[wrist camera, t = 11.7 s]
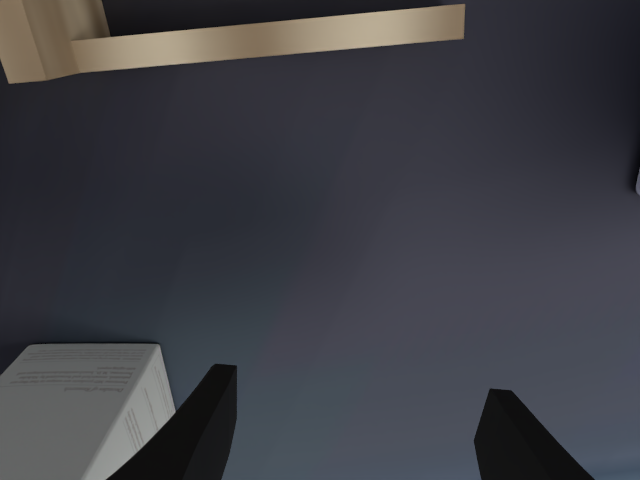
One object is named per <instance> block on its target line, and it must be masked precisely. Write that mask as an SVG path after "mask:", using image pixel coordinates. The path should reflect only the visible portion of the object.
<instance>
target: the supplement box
mask: <svg viewBox="0 0 640 480" xmlns="http://www.w3.org/2000/svg"><path fill="white" fill-rule="evenodd" d="M175 412H176V411H175V407H174V403H173V399H172V395H171V390H170V386H169V382H168V378H167V374H166V370H165V366H164V361H163V357H162V353H161V349H160V345H159V344H35V345H29V346H28V347H27V348H26V349H25V350H24V351H23V352H22V353H21V354H20V355H19V356H18V357H17V358H16V360H15V361H14V362H13V363H12V364H11V365H10V366H9V367H8V368H7V369H6V370H5V371H4V372H3V373H2V374H1V375H0V480H106V479H107V478H108V477H109V476H111V475H112V474H113V473H114V472H115V471H117V470H118V469H119V468H120V467H121V466H122V465H123V464H125V463H126V462H127V461H128V460H129V459H130V458H131V457H132V456H133V455H135V454H136V453H137V452H138V451H139V450H140V449H141V448H142V447H143V446H144V445H145V444H146V443H147V442H148V441H149V440H150V439H151V438H152V437H153V436H154V435H155V434H156V433H157V432H158V431H159V430H160V429H161V428H162V427H163V425H164V424H165V423H166V422H167V421H168V420H169V419H170V418H171V417H172V416H173V415H174V413H175Z"/></svg>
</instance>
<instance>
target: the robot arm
mask: <svg viewBox="0 0 640 480" xmlns="http://www.w3.org/2000/svg"><path fill="white" fill-rule="evenodd" d="M636 192H637V193H638V194H639V195H640V169H639V174H638V179H637V184H636ZM236 419H237V366H235V365H224V364H214V365H213V366H212V367H211V368H210V370H209V371H208V372H207V374H206V375H205V377H204V378H203V379H202V381H201V382H200V383H199V385H198V386H197V387H196V388H195V390H194V391H193V392H192V393H191V395H190V396H189V397H188V398H187V399H186V401H185V402H184V403H183V404H182V405H181V406H180V408H179V409H178V410H177V411H176V412H175V413H174V415H173V416H172V417H171V418H170V419H169V420H168V421H167V422H166V423H165V424H164V425H163V427H162V428H161V429H160V430H159V431H158V432H157V433H156V434H155V435H154V436H153V437H152V438H151V439H150V440H149V441H148V442H147V443H146V444H145V445H144V446H143V447H142V448H141V449H140V450H139V451H138V452H137V453H136V454H135V455H133V456H132V457H131V458H130V459H129V460H128V461H127V462H126V463H125V464H123V465H122V466H121V467H120V468H119V469H118V470H117V471H115V472H114V473H113V474H112V475H111V476H109V477H108V478H107V479H106V480H221V479H222V476H223V472H224V469H225V466H226V463H227V460H228V457H229V453H230V448H231V444H232V439H233V434H234V429H235V424H236ZM474 444H475V450H476V455H477V461H478V465H479V470H480V475H481V479H482V480H595V479H594V478H593V477H592V476H591V475H590V474H588V473H587V472H586V471H585V470H584V469H583V468H582V467H581V466H580V465H579V464H578V463H577V462H576V461H575V460H574V458H573V457H572V456H571V455H570V454H569V453H568V452H567V451H566V450H565V449H564V448H563V447H562V446H561V445H560V444H559V443H558V442H557V441H556V439H555V438H554V437H553V436H552V435H551V434H550V433H549V432H548V431H547V430H546V428H545V427H544V426H543V425H542V424H541V423H540V422H539V421H538V420H537V418H536V417H535V416H534V415H533V414H532V413H531V412H530V411H529V409H528V408H527V407H526V406H525V405H524V404H523V403H522V402H521V400H520V399H519V398H518V397H517V396H516V395H515V394H514V393H513V392H512V391H511V390H501V389H490V390H489V393H488V396H487V399H486V403H485V406H484V409H483V412H482V416H481V419H480V422H479V425H478V429H477V432H476V435H475V438H474Z"/></svg>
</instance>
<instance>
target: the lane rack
mask: <svg viewBox="0 0 640 480" xmlns="http://www.w3.org/2000/svg"><path fill="white" fill-rule="evenodd" d="M464 18H465V4H457V5H445V6H434V7H424V8H413V9H403V10H392V11H382V12H371V13H360V14H350V15H339V16H329V17H318V18H307V19H297V20H286V21H276V22H265V23H255V24H244V25H233V26H223V27H212V28H202V29H191V30H180V31H170V32H159V33H149V34H138V35H127V36H117V37H111V36H110V32H109V28H108V24H107V20H106V16H105V12H104V8H103V4H102V0H0V59H1V62H2V65H3V68H4V70H5V73H6V76H7V79H8V82H9V84H11V83H22V82H33V81H45V80H50V79H55V78H59V77H64V76H68V75H73V74H77V73H84V72H95V71H107V70H118V69H129V68H140V67H151V66H163V65H174V64H185V63H196V62H208V61H219V60H230V59H241V58H252V57H264V56H275V55H286V54H297V53H309V52H320V51H331V50H342V49H353V48H365V47H376V46H387V45H398V44H410V43H421V42H432V41H443V40H454V39H464Z"/></svg>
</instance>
